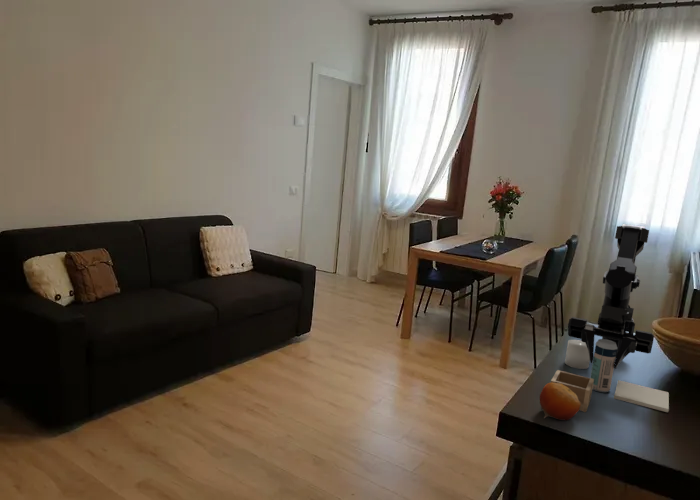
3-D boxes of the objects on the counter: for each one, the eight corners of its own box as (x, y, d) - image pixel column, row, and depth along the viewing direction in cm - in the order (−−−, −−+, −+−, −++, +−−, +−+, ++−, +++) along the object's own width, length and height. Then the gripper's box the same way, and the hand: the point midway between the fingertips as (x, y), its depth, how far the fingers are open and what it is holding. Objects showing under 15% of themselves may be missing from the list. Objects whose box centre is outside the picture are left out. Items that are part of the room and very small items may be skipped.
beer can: (612, 390, 130) (621, 342, 128) (606, 395, 127) (614, 346, 125) (592, 383, 134) (600, 337, 132) (585, 388, 130) (593, 340, 128)
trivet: (617, 383, 135) (618, 380, 135) (668, 395, 130) (668, 392, 130) (613, 398, 126) (614, 395, 125) (668, 412, 120) (668, 409, 120)
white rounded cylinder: (566, 358, 150) (569, 338, 149) (590, 364, 147) (593, 343, 146) (563, 365, 145) (566, 343, 144) (587, 370, 142) (590, 349, 141)
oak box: (554, 389, 128) (557, 369, 127) (590, 399, 124) (594, 379, 123) (547, 401, 121) (551, 380, 120) (586, 412, 117) (589, 390, 116)
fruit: (524, 398, 118) (548, 370, 117) (553, 418, 119) (576, 391, 118) (536, 416, 110) (561, 386, 109) (566, 437, 111) (591, 408, 110)
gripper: (574, 285, 134) (560, 339, 127) (660, 300, 125) (650, 359, 118) (574, 309, 142) (561, 361, 135) (655, 325, 133) (645, 381, 126)
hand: (602, 365), depth 128 cm, fingers closed on beer can, 5 cm apart
